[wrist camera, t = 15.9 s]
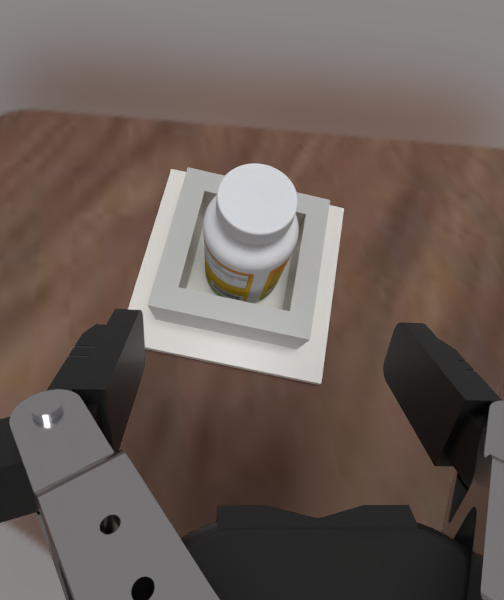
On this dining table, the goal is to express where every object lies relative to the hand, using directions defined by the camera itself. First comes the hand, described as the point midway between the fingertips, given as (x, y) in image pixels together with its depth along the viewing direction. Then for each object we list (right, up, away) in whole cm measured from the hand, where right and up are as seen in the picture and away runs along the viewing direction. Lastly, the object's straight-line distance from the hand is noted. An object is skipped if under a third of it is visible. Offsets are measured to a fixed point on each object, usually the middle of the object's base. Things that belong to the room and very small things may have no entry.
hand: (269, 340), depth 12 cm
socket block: (-1, +3, +16) cm, 17 cm away
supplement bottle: (-1, +3, +16) cm, 16 cm away
